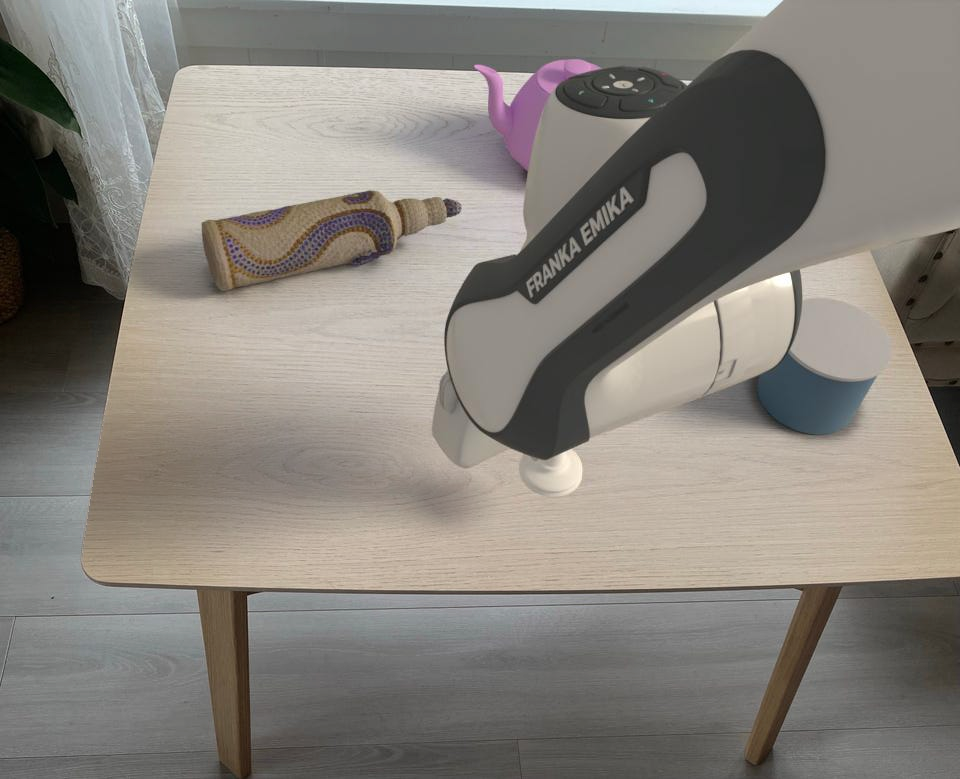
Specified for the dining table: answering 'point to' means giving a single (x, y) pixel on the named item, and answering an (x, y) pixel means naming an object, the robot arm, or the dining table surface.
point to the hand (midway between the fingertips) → (556, 442)
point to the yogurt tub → (826, 368)
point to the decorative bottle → (314, 235)
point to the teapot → (526, 103)
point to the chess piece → (552, 474)
